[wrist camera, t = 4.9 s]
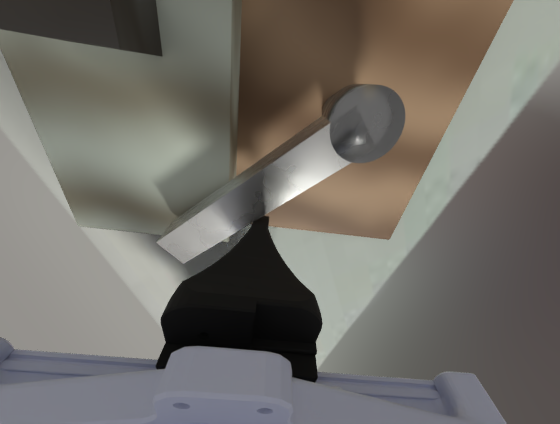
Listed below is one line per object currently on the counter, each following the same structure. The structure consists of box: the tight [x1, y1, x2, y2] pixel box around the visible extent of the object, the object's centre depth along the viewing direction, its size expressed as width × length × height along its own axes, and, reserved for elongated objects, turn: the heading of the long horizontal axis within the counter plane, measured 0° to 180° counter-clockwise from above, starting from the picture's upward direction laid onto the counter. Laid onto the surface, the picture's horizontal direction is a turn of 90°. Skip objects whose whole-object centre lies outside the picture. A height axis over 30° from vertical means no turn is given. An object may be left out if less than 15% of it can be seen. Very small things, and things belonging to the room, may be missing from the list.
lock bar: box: [156, 84, 405, 264], centre depth 11 cm, size 14×3×2 cm, turn 125°
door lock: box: [0, 0, 513, 242], centre depth 11 cm, size 16×23×6 cm
